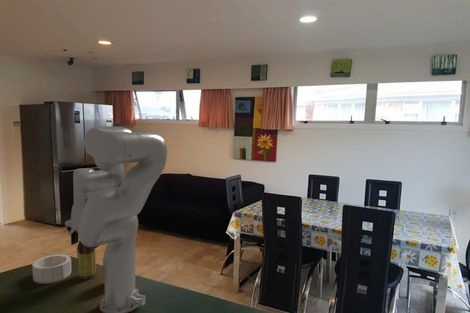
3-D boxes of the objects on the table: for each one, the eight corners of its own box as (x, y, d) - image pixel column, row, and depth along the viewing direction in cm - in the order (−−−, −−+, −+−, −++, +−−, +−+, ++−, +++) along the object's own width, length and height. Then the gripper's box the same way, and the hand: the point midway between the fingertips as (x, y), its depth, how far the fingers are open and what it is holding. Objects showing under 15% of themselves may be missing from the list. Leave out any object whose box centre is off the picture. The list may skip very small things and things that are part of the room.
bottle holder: (78, 270, 128) (78, 256, 127) (53, 286, 116) (52, 270, 115) (51, 266, 131) (51, 252, 131) (24, 281, 119) (23, 266, 118)
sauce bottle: (84, 272, 127) (83, 223, 125) (99, 273, 126) (98, 224, 124) (74, 280, 120) (72, 228, 118) (89, 281, 120) (88, 229, 118)
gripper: (111, 201, 122) (111, 244, 124) (72, 196, 126) (73, 238, 128) (98, 206, 115) (99, 252, 117) (57, 201, 119) (59, 245, 121)
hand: (85, 245), depth 122 cm, fingers open, 9 cm apart
